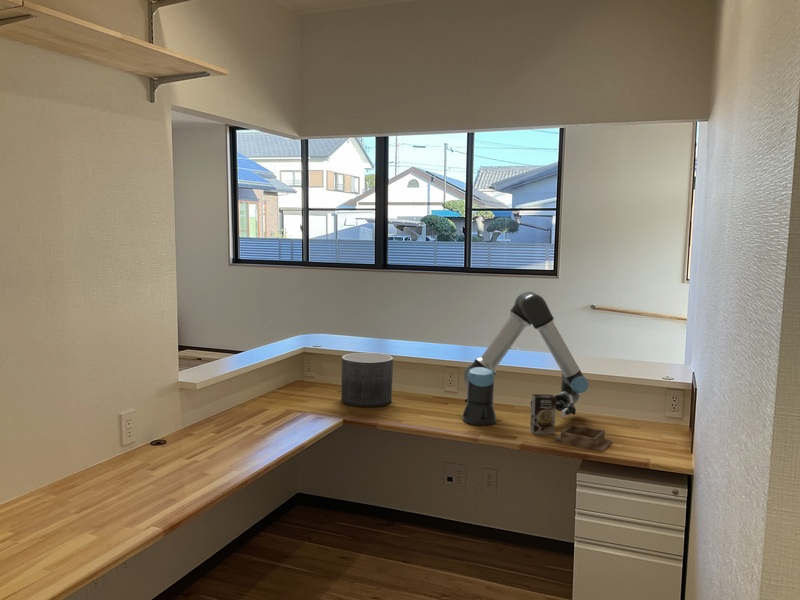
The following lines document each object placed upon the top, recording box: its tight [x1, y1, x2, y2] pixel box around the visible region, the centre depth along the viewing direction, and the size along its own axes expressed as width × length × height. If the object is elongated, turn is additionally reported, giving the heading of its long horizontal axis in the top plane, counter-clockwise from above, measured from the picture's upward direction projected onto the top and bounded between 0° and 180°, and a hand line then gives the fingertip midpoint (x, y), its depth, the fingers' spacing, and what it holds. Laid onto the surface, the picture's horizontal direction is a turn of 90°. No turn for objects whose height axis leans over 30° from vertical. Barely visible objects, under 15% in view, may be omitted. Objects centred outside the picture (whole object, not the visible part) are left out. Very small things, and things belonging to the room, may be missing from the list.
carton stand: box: [552, 424, 613, 453], centre depth 249 cm, size 20×14×4 cm
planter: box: [340, 352, 394, 408], centre depth 302 cm, size 25×25×22 cm
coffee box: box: [529, 393, 557, 435], centre depth 260 cm, size 9×6×16 cm
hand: (546, 411), depth 261 cm, fingers open, 13 cm apart
